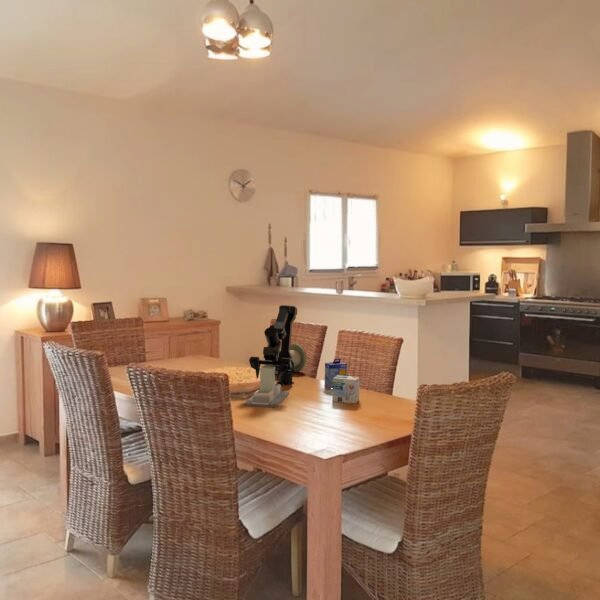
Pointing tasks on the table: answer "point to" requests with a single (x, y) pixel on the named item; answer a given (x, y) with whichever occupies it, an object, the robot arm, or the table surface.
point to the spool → (296, 357)
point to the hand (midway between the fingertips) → (267, 378)
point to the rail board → (273, 404)
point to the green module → (267, 379)
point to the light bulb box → (345, 389)
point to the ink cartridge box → (334, 371)
